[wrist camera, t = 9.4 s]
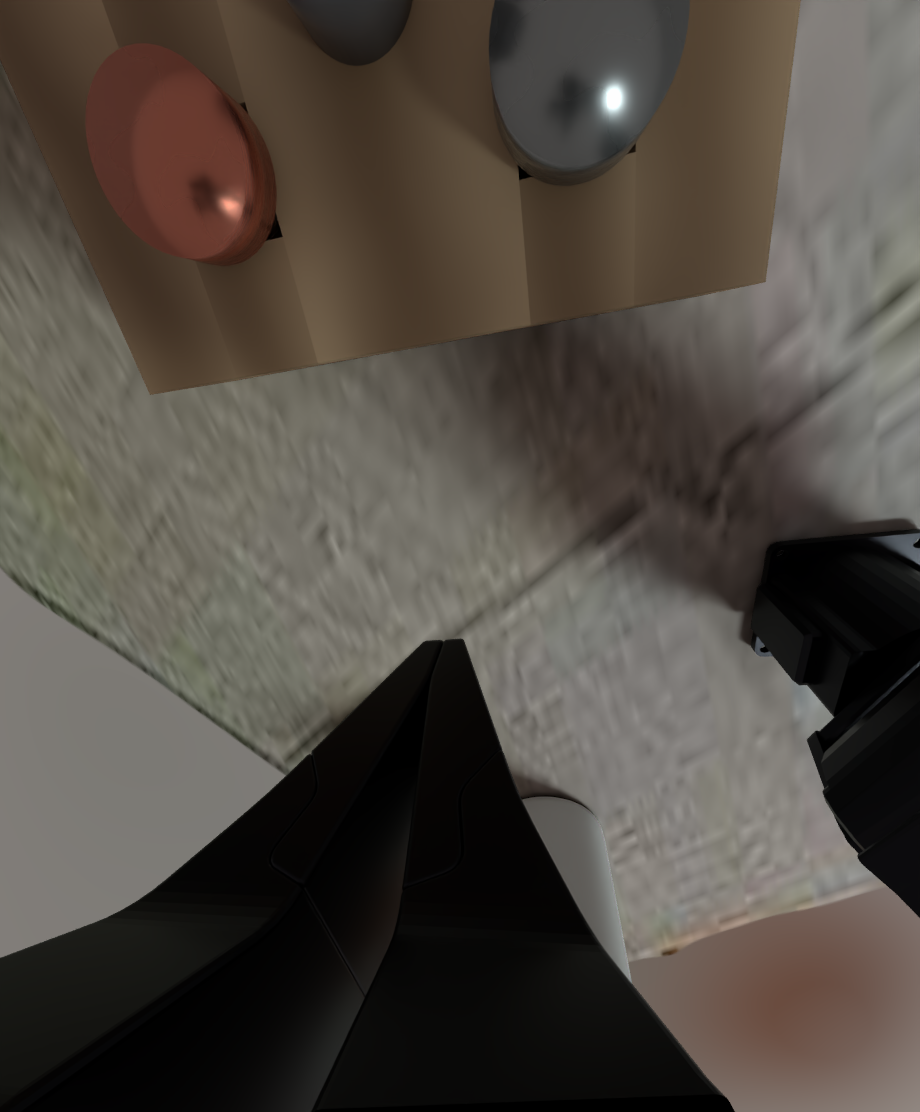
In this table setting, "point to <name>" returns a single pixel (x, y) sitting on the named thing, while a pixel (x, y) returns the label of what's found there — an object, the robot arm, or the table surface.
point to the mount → (409, 184)
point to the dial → (354, 26)
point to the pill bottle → (582, 867)
